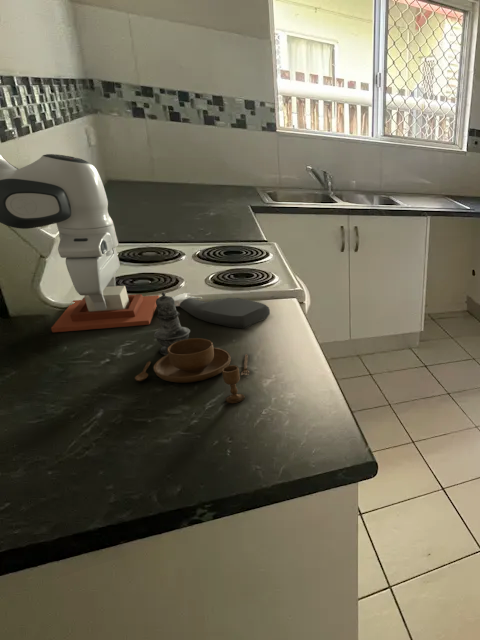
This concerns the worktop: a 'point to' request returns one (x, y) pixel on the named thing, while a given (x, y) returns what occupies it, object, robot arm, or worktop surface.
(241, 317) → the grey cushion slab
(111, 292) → the beige block
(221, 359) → the place setting
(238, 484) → the worktop surface
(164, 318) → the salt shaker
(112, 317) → the base pad
